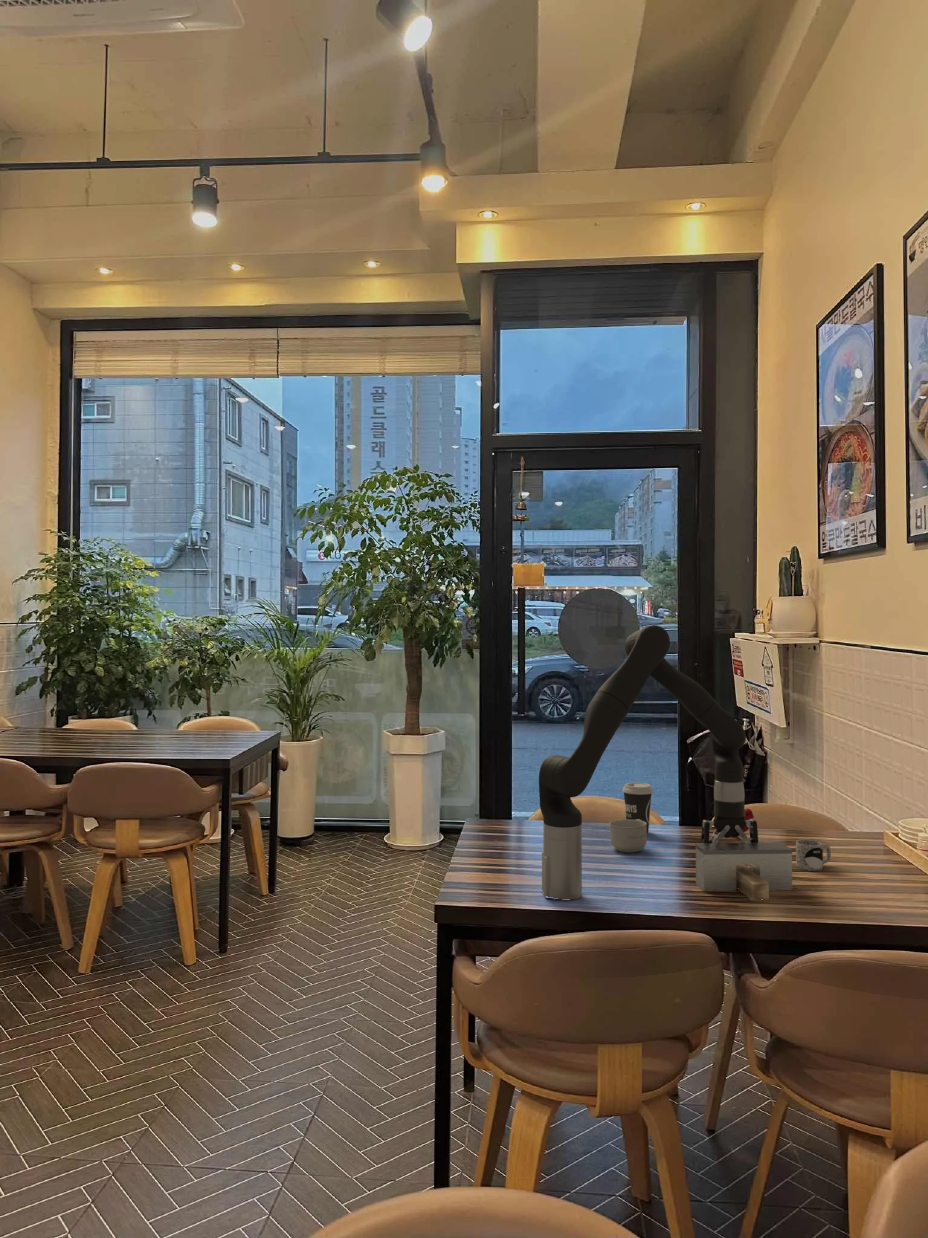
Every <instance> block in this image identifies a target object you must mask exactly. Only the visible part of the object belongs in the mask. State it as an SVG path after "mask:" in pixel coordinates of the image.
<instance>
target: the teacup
mask: <svg viewBox="0 0 928 1238" xmlns="http://www.w3.org/2000/svg"><path fill="white" fill-rule="evenodd" d="M646 825H647V823H646V822H644V821H642V820H640V819H636V820H629V819H628V820H626V819H617V820H612V821H609V823H608V826H609V839H610V843H611V845H612V847H614V848H615V849H616V850H617V851H618V852H621V853H636V852H640V851H641V850H642V849H643V848H644V847H646V844H647V841H648V840H647V839H648V834H647V829H646Z"/></svg>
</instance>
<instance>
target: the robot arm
mask: <svg viewBox="0 0 928 1238" xmlns="http://www.w3.org/2000/svg"><path fill="white" fill-rule="evenodd" d="M670 646H671V639H670V636H669V633H668V631H667V630H666V629H665V628H663V627H662V626H660V625H657V624H655V625H654V624H652V625H648V626H643V627H642V628H640V629H638V630H636V631H634V632H633V633H631V634H630V635H628V636H627V638H626V640H625V643H624V651H625V653H626V655H627V657H626V659H625V661H624V662H623V663H622V664H621V665H620V667H618V668H617V669H616V670H615V671H614V672H613V673H612V674H611V676H610V677H608V678H607V680H606V681H604V683H603V684H602V685H601V686H600V687H599V689H598V690H597V691H596V692H595V694H594V696H593V698H591V700H590V702H589V703H588V705H587V707H586V710H585V714H584V721H583V724H584V726H583V734H582V737H581V740H580V741H579V744H578V745H577V746H576V748H575V750H574V751H573V753H572V754H571V755H570V756H569V757H568V756H562V755H557V754H554V755H550V756H548V757H546V758H545V759H544V760H543V761H542V763H541V765H540V768H539V772H538V793H539V795H538V796H539V809H540V811H541V814H542V818H543V819H542V820H543V822H542V825H543V829H542V830H543V832H542V833H543V835H542V836H543V837H542V838H543V840H542V841H543V844H542V847H543V851H542V852H541V891H542V890H543V892H544V894H543V896H544V895H545V896H548V897H553V898H558V899H575V900H578V899H580V898H582V895H583V868H582V867H583V864H582V863H583V862H582V861H583V860H582V858H583V847H582V846H583V845H582V843H583V841H582V840H583V839H582V838H583V833H582V832H583V831H582V830H583V829H582V828H583V827H582V826H583V824H582V823H583V819H582V818H583V816H582V812H581V810H579V809H578V808H577V807H576V805H575V804H574V803H573V800H572V798H575V797H578V796H579V795H581V794H583V792H584V791H585V790H586V788H587V787H588V785H589V783H590V781H591V779H592V777H593V775H594V773H595V771H596V770H597V767H598V764H599V763H600V760H601V759H602V757H603V755H604V753H605V751H606V749H607V748H608V746H609V745H610V743H611V740H612V739H613V737H614V735H616V732H617V730H618V729H619V728H620V726H621V725H622V723H623V722H624V721H625V718H626V717H627V715H628V714H629V712H630V710H631V708H632V706H633V705H634V703H635V701H636V700H637V698H638V696H639V695H640V693H641V691H642V690H643V688H644V685H645V684H646V682H647V680H648V679H649V677H652V679H653V680H655V681H656V682H657V683H659V685H661V686H662V688H665V690H666V691H668V692H669V693H670V694H671V695H672V696H673V697H674V698H676V700H677V701H678V702H679V703H680V704H681V705H682V707H684V708H685V709H686V710H687V712H688V713H689V714H690V715H692V717H693V719H695V720H696V721H697V722H698V723H700V724H701V725H702V726H704V727H705V728H706V729H707V730H708V732H710V734H711V747H712V752H713V759H714V784H713V785H714V786H713V799H714V800H713V814H714V819H713V820H707V819H703V820H702V821H701V836H700V838H701V839H700V841H701V843H702V844H712V843H719V842H720V841H722V839H723V838H727V839H728V838H737V837H738V836H739V837H740V839H739V840H741V842H742V843H759V832H758V822H757V820H755V819H754V818H753V819H749V820H745V819H744V816H745V809H746V808H745V795H746V794H745V787H744V786H745V785H744V765H743V761H742V759H741V758H740V756H739V749H741V748H742V747H743V746H744V745H745V743H746V741H747V735H746V731H745V729H744V727H743V726H742V725H741V724H740V723H739V722H738V721H737V720H736V719H735V718H734V717H733V716H732V715H730V714H729V713H728V712H727V711H726V710H724V708H722V706H720V704H719V703H718V701H716V700H715V699H714V697H713V696H712V695H711V694H710V693H709V692H708V690H706V689H705V688H704V687H703V686H702V685H701V684H699V682H697V681H695V680H694V679H693V678H692V677H689V676H688V675H686V674H684V673H683V672H681V671H680V670H678V669H676V667H674V666H673V665H671V664H670V663H669V662H668V661H667V660H666V658H665V657H666V655H668V653H669V649H670V648H671V647H670ZM746 825H747V827H748V828H749V829H748V830H749V838H748V836H747V835H746V832H743V829H744V828H745V826H746ZM713 827H714V828H715V829H714V831H713V833H712V835H711V836H710V831H711V830H712V828H713ZM737 839H738V838H737ZM543 892H542V893H543ZM545 896H544V897H545Z"/></svg>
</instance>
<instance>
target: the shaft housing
mask: <svg viewBox="0 0 928 1238" xmlns="http://www.w3.org/2000/svg"><path fill="white" fill-rule="evenodd" d="M736 864H744V865H749V866H750V867H749V869H750V870H752V871H753V872H754V873H756V874H757V875H758V876H760V877H761V878H762V879H763V880H765V881H766V882H767V883H769V891H792V890H793V848H790V847H789V846H787V845H786V844H784V843H782V842H758V843H744V842H740V843H739V842H738V843H737V842H729V843H728V842H727V843H725V842H724V843H723V842H722V843H721V842H720V843H719V842H718V843H712V844H704V843H695V885H696V886H698V888H700V889H701V890H702V891H703V892H737V887H736Z"/></svg>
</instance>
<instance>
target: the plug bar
mask: <svg viewBox="0 0 928 1238" xmlns="http://www.w3.org/2000/svg"><path fill="white" fill-rule="evenodd" d="M738 888H739V889H740V890H741V891H742V892H741V891H740V890H739V889H738ZM736 889H738V890H739V891H740V892H741V893H743V894H744V893H745V894H746V895H747V896H748V897H747V896H746V895H745V894H744V895H745V896H746V897H747V898H748V899H750V898H751V899H752V900H761V899H763V900H769V901H770V890H769V883H767V882H766V881H765V880H763V879H762V878H761V877H760V876H758V875H757V874H756V873H754V872H753V871H752V870H750V867H748V866H747V865H746V864H736ZM751 899H750V900H751ZM752 900H751V901H752Z"/></svg>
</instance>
